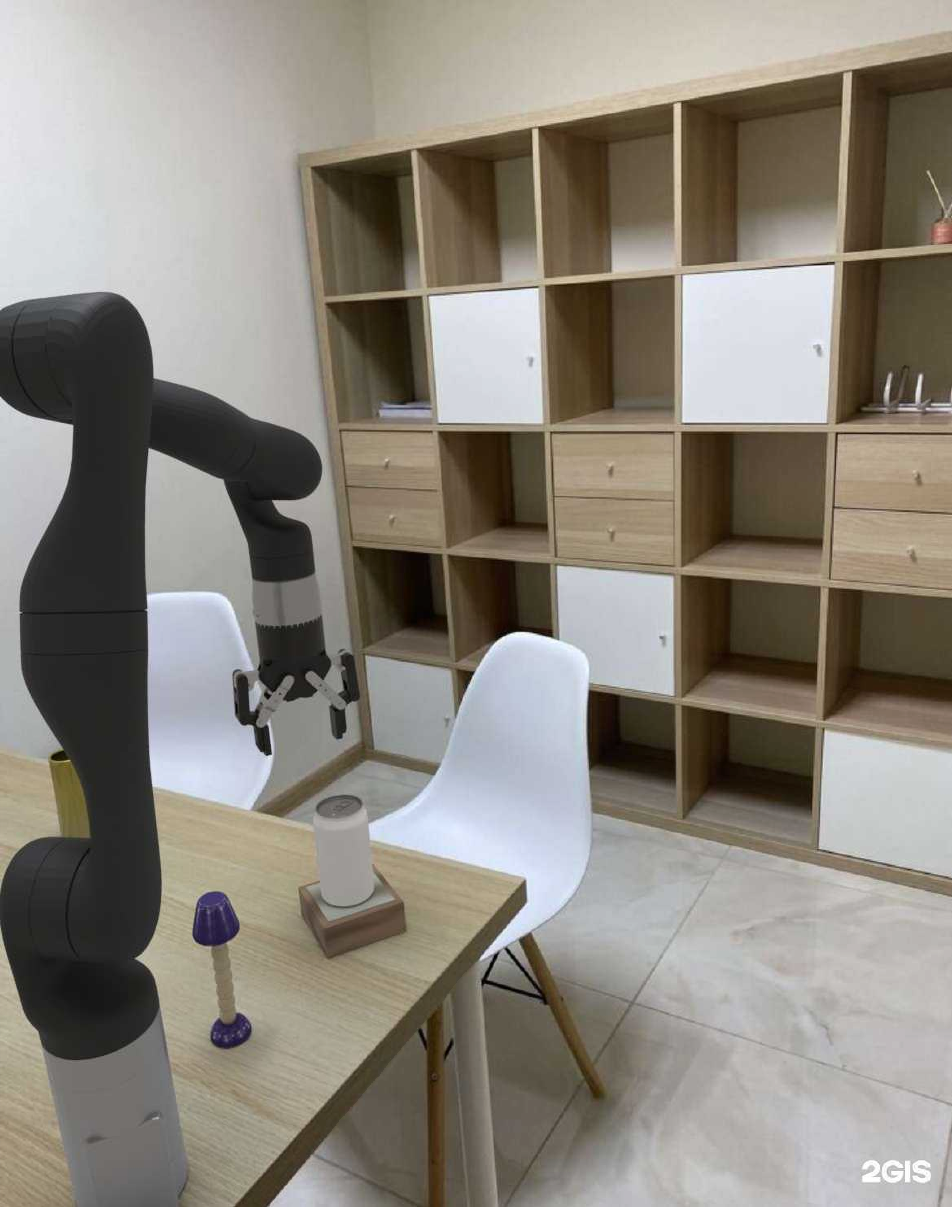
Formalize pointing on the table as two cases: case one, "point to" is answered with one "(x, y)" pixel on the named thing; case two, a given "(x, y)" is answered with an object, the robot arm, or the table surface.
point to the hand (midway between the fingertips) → (303, 745)
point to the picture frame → (352, 917)
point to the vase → (68, 797)
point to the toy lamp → (221, 965)
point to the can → (343, 850)
